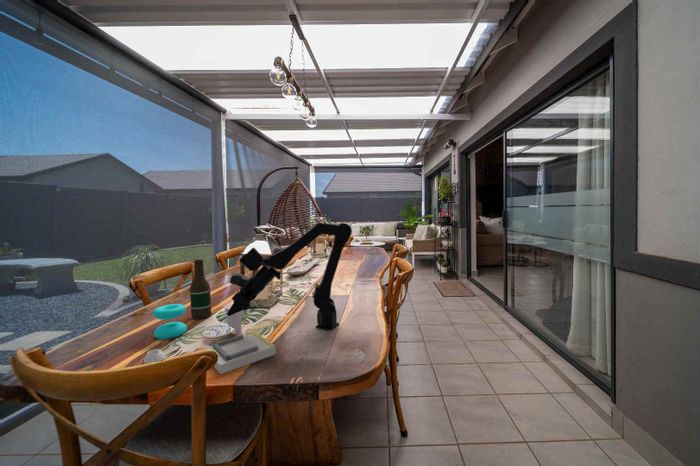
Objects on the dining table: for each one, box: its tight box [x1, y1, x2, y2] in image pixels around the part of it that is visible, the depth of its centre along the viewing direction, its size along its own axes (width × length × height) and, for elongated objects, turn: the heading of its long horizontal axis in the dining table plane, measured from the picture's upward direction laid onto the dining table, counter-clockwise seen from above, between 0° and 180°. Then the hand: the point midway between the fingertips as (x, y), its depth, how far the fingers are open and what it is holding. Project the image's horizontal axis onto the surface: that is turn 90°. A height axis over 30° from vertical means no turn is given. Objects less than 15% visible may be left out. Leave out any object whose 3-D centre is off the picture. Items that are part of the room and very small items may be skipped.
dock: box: [204, 332, 277, 375], centre depth 89 cm, size 16×14×4 cm
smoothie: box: [224, 293, 244, 335], centre depth 106 cm, size 6×6×14 cm
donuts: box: [152, 303, 188, 340], centre depth 105 cm, size 10×10×10 cm
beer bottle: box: [189, 259, 212, 320], centre depth 123 cm, size 8×8×24 cm
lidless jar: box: [143, 348, 165, 365], centre depth 86 cm, size 5×3×5 cm
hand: (230, 312), depth 106 cm, fingers closed on smoothie, 6 cm apart
